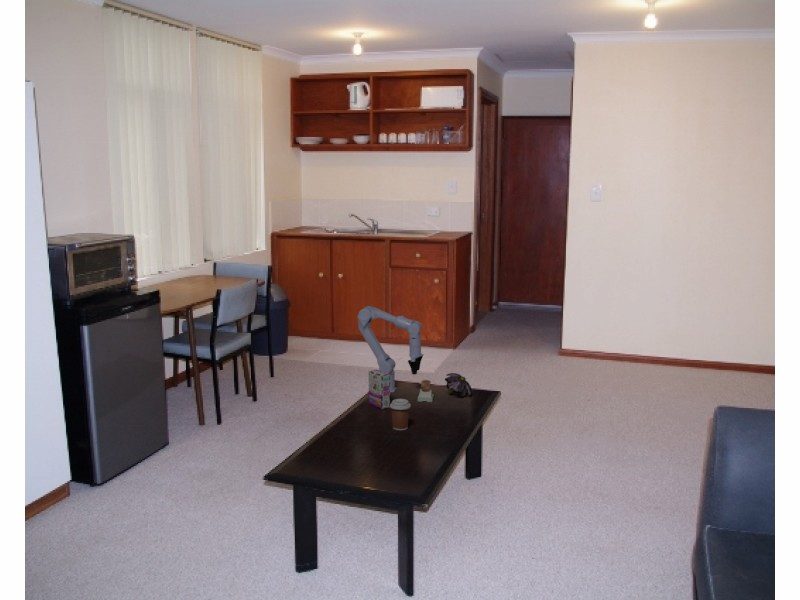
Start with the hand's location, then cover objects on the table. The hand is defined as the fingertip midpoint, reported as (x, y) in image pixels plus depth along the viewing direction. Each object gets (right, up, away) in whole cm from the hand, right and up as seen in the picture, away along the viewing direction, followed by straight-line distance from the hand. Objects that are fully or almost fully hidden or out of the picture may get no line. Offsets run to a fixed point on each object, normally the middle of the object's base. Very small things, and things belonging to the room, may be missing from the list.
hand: (415, 372), depth 360 cm
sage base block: (+5, -13, -10) cm, 17 cm away
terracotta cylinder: (+5, -8, -10) cm, 14 cm away
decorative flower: (+21, -11, -3) cm, 24 cm away
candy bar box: (-18, -14, -19) cm, 30 cm away
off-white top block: (+5, -10, -10) cm, 15 cm away
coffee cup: (-8, -19, -49) cm, 53 cm away
